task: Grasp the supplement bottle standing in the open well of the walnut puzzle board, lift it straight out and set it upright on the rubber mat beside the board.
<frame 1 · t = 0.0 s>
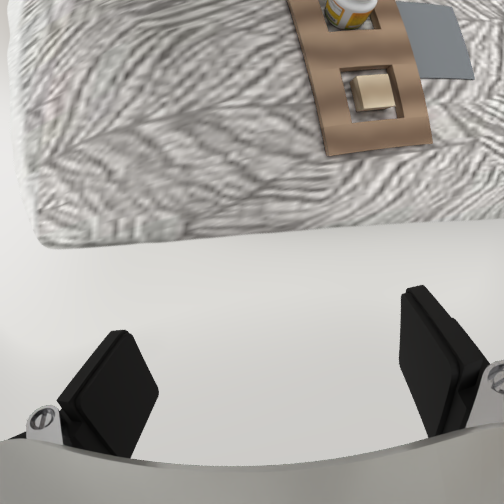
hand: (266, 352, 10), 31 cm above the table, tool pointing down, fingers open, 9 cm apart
supplement bottle: (344, 15, 30), resting in puzzle board
puzzle board: (356, 52, 32), on the table
maple block: (367, 95, 34), resting in puzzle board
rubber mat: (436, 39, 29), on the table
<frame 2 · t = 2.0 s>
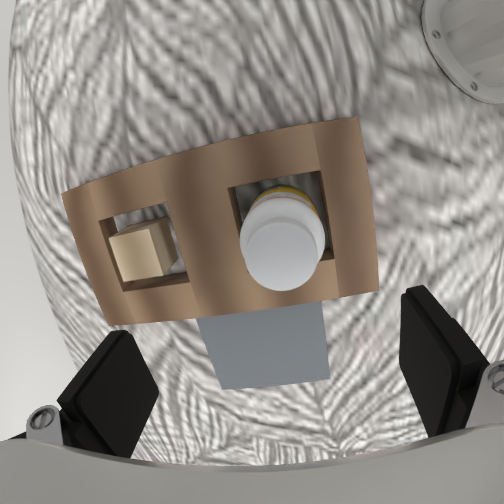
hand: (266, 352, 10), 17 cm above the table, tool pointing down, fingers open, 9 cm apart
supplement bottle: (283, 215, 26), resting in puzzle board
puzzle board: (214, 229, 27), on the table
maple block: (153, 241, 28), resting in puzzle board
rubber mat: (266, 348, 30), on the table
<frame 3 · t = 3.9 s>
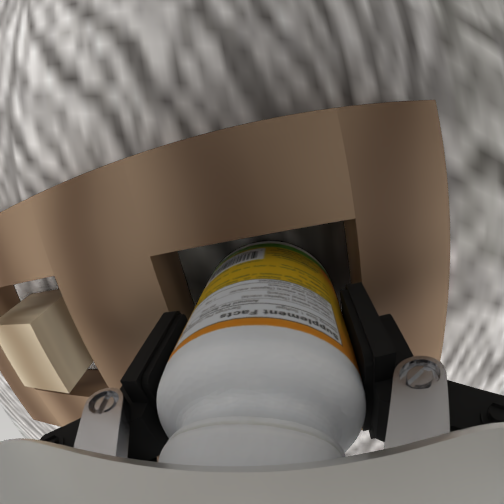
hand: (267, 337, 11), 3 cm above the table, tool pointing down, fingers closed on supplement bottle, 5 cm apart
supplement bottle: (270, 295, 14), resting in puzzle board, touching gripper
puzzle board: (148, 314, 14), on the table
maple block: (65, 320, 15), resting in puzzle board
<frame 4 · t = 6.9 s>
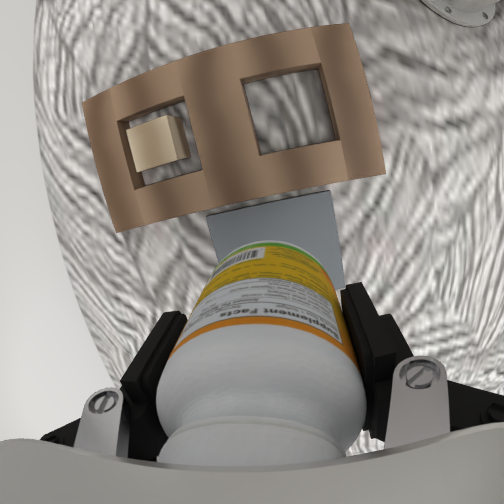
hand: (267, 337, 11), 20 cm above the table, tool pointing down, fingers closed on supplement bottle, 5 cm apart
supplement bottle: (271, 294, 14), point 17 cm above the table, touching gripper
puzzle board: (226, 125, 27), on the table
maple block: (167, 142, 28), resting in puzzle board
rubber mat: (278, 251, 31), on the table
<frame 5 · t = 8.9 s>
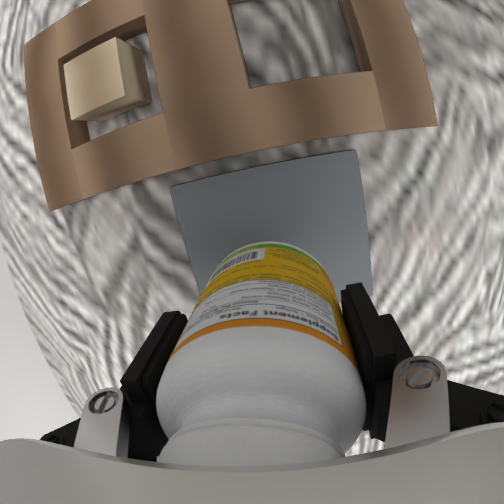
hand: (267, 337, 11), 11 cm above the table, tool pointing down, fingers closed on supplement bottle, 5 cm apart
supplement bottle: (270, 296, 14), point 7 cm above the table, touching gripper
puzzle board: (203, 56, 17), on the table
maple block: (122, 86, 18), resting in puzzle board
rubber mat: (276, 240, 20), on the table
when the fingers open (5 cm above the table, at t = 10.4 s): supplement bottle drops 1 cm, resting on rubber mat.
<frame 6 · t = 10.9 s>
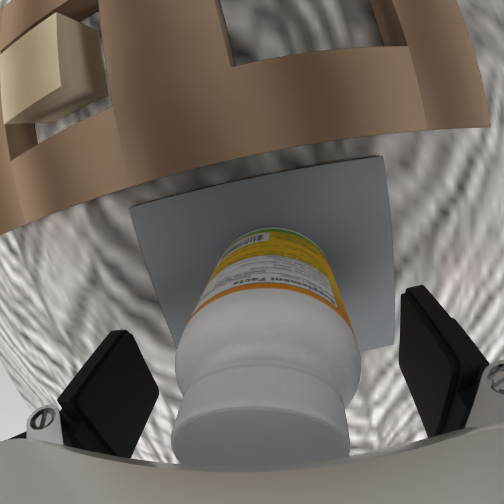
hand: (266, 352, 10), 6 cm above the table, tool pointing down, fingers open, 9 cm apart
supplement bottle: (274, 278, 15), resting on rubber mat
puzzle board: (173, 32, 12), on the table
maple block: (74, 77, 13), resting in puzzle board
rubber mat: (272, 279, 15), on the table
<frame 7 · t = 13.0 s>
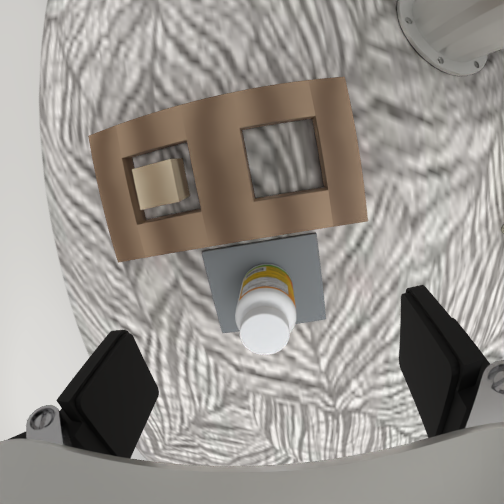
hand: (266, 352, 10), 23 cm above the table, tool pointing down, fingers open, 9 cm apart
supplement bottle: (267, 285, 33), resting on rubber mat
puzzle board: (223, 168, 30), on the table
maple block: (168, 181, 31), resting in puzzle board
rubber mat: (266, 285, 34), on the table
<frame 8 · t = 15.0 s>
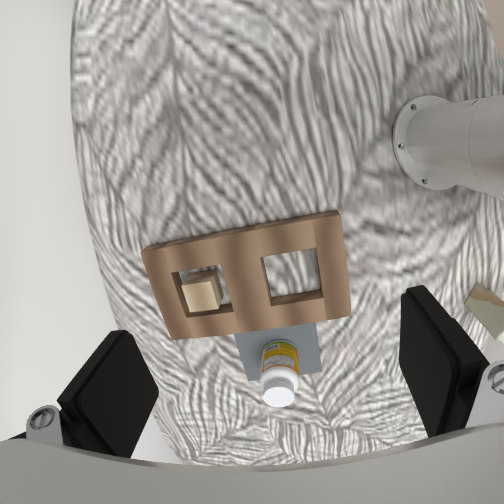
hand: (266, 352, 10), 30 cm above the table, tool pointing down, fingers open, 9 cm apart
supplement bottle: (280, 351, 46), resting on rubber mat
puzzle board: (248, 277, 42), on the table
box: (477, 297, 40), on the table
maple block: (206, 284, 43), resting in puzzle board
rubber mat: (279, 351, 46), on the table
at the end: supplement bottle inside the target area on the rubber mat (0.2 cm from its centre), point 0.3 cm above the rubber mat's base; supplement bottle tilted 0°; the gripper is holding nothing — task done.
